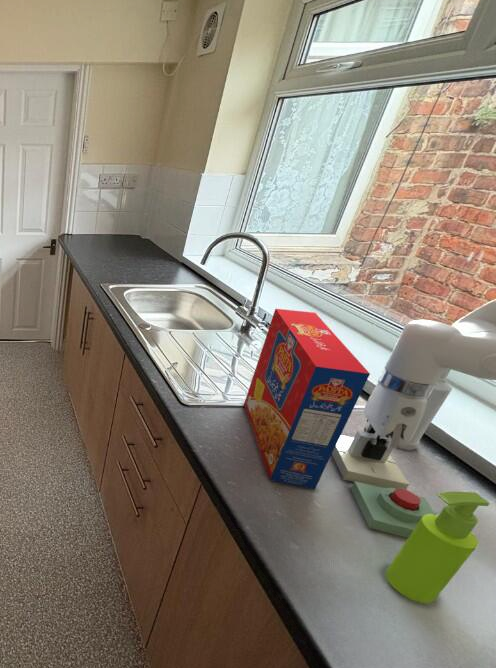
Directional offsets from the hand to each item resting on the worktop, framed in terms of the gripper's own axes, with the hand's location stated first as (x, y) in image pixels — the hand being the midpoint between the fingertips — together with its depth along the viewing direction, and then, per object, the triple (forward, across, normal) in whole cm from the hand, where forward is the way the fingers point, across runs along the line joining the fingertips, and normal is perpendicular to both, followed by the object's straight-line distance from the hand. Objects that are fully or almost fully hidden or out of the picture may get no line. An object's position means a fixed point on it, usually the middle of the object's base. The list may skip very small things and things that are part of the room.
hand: (368, 453), depth 89 cm
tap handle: (+1, 0, 0) cm, 1 cm away
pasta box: (+4, +2, +16) cm, 17 cm away
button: (0, -14, -1) cm, 14 cm away
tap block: (+3, 0, 0) cm, 3 cm away
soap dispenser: (+4, -30, +3) cm, 30 cm away
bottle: (+4, +12, -11) cm, 17 cm away
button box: (+3, -14, -1) cm, 14 cm away
